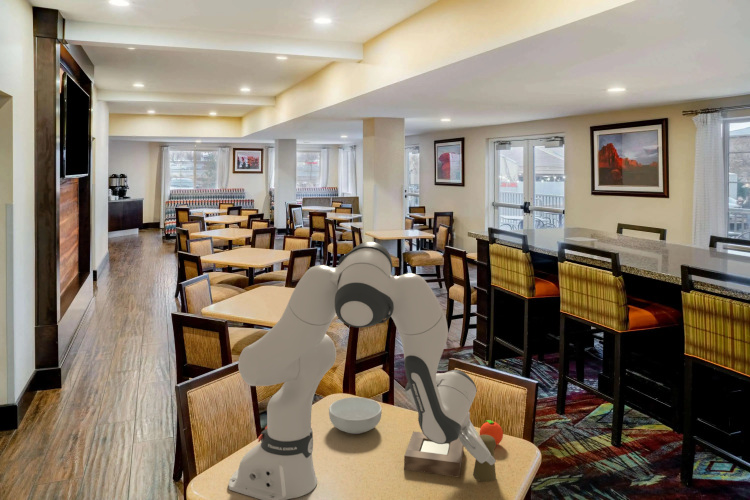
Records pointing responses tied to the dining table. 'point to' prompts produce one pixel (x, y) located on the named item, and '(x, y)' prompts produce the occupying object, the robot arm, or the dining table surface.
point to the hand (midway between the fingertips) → (487, 453)
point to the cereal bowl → (355, 414)
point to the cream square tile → (435, 447)
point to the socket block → (433, 457)
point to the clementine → (492, 430)
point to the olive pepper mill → (486, 470)
